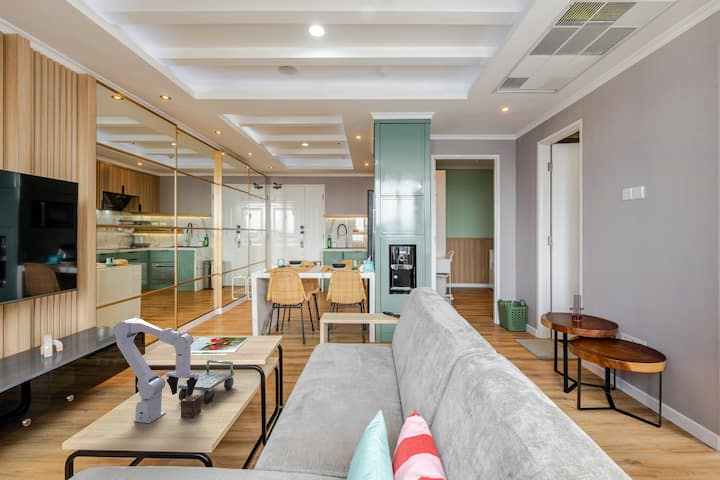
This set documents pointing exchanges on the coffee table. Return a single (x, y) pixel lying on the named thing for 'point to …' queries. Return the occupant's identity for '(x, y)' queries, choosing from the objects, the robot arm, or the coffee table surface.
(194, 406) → the box
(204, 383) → the trolley
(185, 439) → the coffee table surface
